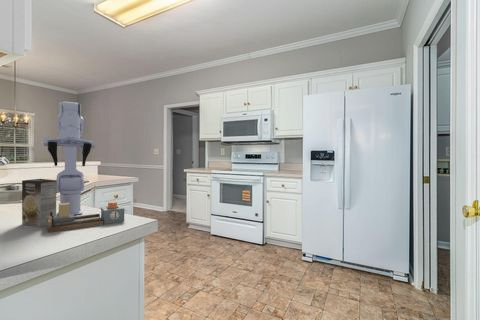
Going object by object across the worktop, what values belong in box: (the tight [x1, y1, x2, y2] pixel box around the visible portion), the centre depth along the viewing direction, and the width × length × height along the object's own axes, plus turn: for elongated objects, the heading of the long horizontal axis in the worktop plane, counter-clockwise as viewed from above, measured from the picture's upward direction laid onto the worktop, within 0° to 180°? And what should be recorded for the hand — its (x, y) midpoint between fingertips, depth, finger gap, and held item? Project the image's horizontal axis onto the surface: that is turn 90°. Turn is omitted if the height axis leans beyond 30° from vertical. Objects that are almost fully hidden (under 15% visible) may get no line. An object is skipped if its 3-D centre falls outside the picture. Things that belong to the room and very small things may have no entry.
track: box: [47, 213, 104, 233], centre depth 90 cm, size 9×16×4 cm, turn 127°
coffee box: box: [21, 178, 57, 228], centre depth 91 cm, size 9×6×16 cm
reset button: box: [107, 201, 118, 209], centre depth 97 cm, size 3×3×4 cm
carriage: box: [53, 202, 76, 224], centre depth 87 cm, size 5×6×6 cm
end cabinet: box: [100, 204, 125, 225], centre depth 97 cm, size 8×7×5 cm
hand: (70, 164), depth 83 cm, fingers open, 7 cm apart
